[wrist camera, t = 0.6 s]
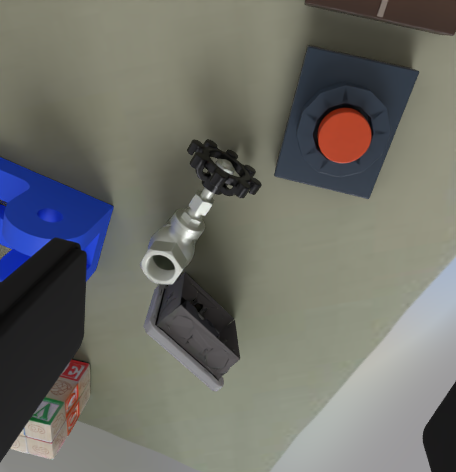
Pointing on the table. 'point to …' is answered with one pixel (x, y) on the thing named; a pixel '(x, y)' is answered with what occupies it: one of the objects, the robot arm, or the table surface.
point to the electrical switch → (193, 330)
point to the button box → (334, 97)
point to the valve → (195, 211)
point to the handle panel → (399, 12)
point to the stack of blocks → (56, 413)
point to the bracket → (46, 217)
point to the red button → (344, 135)
